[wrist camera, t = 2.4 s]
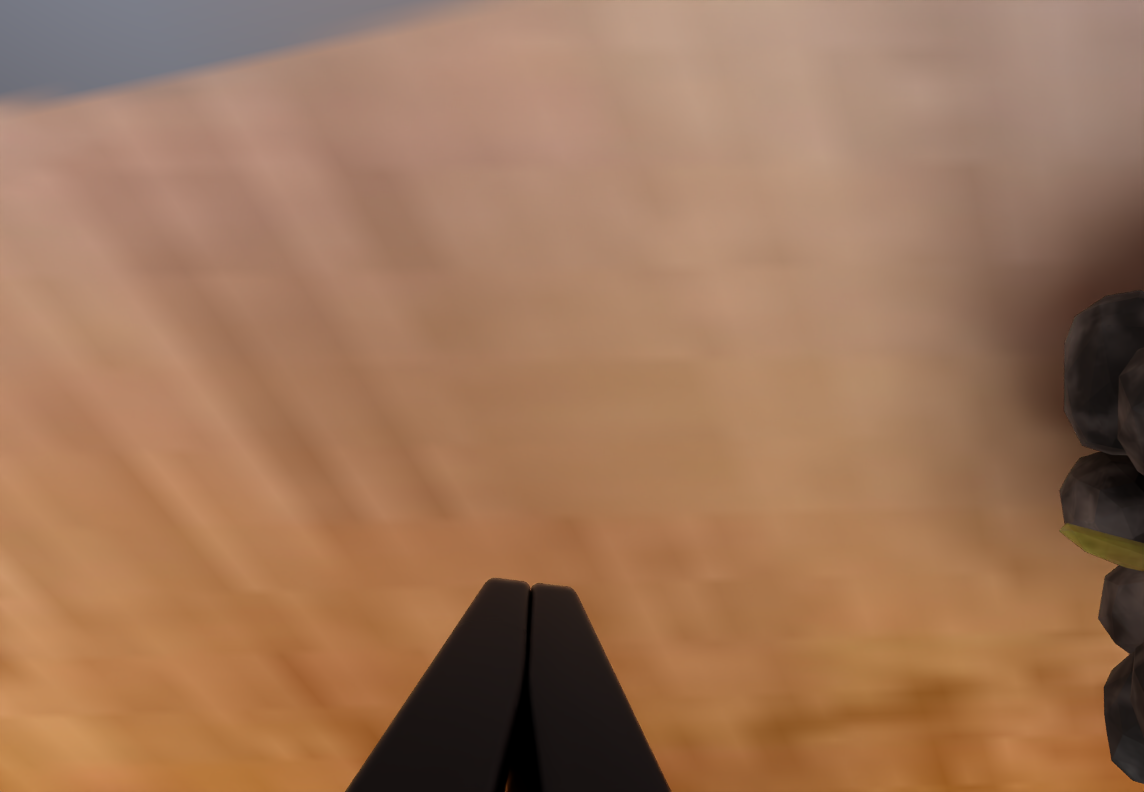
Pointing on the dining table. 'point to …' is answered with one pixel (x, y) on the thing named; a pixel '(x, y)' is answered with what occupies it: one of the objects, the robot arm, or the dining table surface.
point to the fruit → (1112, 495)
